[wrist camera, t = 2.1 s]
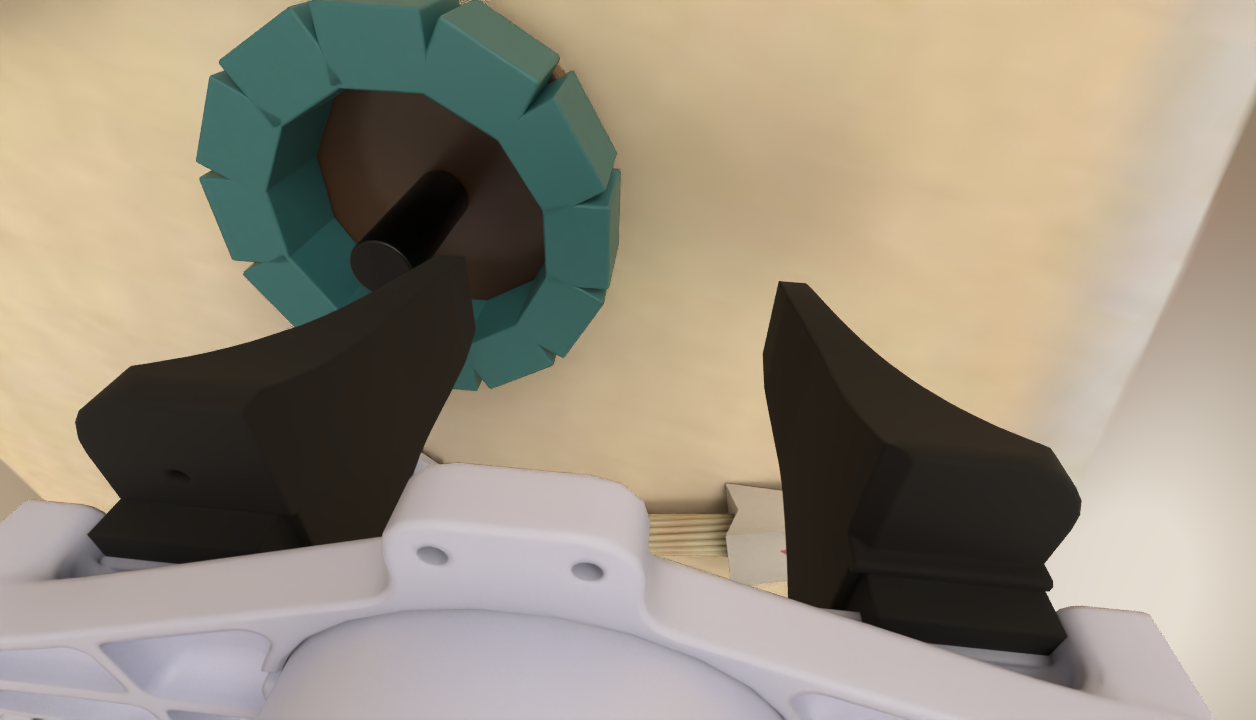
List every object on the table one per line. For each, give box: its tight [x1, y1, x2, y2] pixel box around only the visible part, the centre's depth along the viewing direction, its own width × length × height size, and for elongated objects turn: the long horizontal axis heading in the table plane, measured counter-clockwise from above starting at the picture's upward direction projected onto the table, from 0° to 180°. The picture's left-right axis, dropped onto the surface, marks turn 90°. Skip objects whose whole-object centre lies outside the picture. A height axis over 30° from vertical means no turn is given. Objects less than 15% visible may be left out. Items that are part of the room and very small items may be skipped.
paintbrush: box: [648, 483, 788, 586], centre depth 27 cm, size 4×3×20 cm
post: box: [317, 4, 565, 300], centre depth 17 cm, size 10×10×6 cm
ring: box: [196, 0, 621, 391], centre depth 18 cm, size 11×11×3 cm
